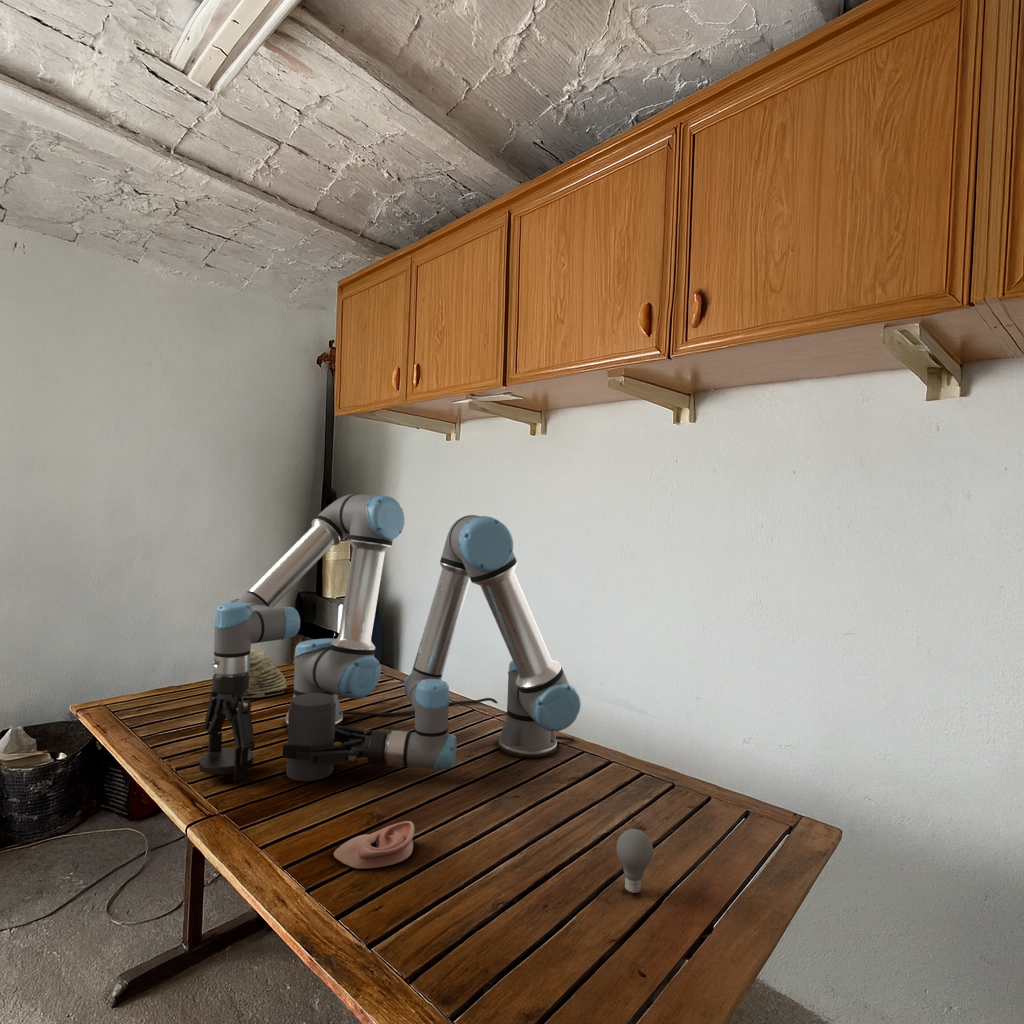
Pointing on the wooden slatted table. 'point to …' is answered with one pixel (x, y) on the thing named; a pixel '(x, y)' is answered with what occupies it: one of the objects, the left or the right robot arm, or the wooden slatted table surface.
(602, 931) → the wooden slatted table surface
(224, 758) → the lid
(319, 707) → the jar
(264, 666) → the fossil
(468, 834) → the wooden slatted table surface
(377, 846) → the anatomical model
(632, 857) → the light bulb
